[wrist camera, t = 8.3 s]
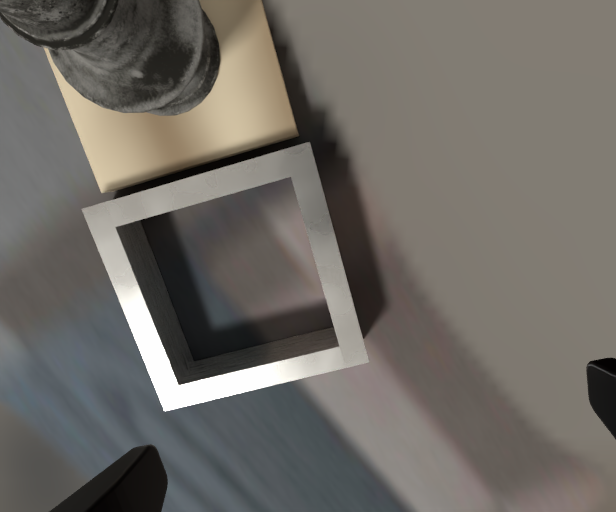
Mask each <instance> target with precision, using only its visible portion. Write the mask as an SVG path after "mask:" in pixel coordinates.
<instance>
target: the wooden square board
mask: <svg viewBox="0 0 616 512" xmlns="http://www.w3.org/2000/svg"><path fill="white" fill-rule="evenodd" d="M199 1H200V4H201V8H202V9H203V10H204V11H205V13H206V15H207V16H208V18H209V20H210V21H211V23H212V25H213V26H214V29H215V32H216V35H217V39H218V42H219V49H220V65H219V71H218V76H217V79H216V81H215V83H214V86H213V88H212V90H211V92H210V93H209V94H208V95H207V97H206V98H205V99H204V100H203V101H202V103H200V104H199V105H197V106H196V107H194V108H193V109H191V110H190V111H188V112H185V113H182V114H179V115H175V116H159V115H155V114H151V113H147V112H145V113H121V112H118V111H114V110H110V109H106V108H102V107H100V106H99V105H97V104H95V103H93V102H91V101H90V100H88V99H86V98H84V97H83V96H82V95H81V94H80V93H78V92H77V91H76V90H75V89H74V88H73V87H72V86H71V85H70V84H69V83H68V82H67V81H66V80H65V79H64V77H63V76H62V74H61V73H60V71H59V70H58V68H57V67H56V65H55V64H54V63H53V60H52V58H51V55H50V53H49V50H48V48H44V49H45V52H46V54H47V57H48V59H49V62H50V64H51V67H52V69H53V72H54V74H55V77H56V79H57V82H58V85H59V87H60V90H61V92H62V95H63V97H64V100H65V102H66V105H67V107H68V110H69V112H70V115H71V117H72V120H73V122H74V125H75V127H76V130H77V132H78V135H79V137H80V140H81V142H82V145H83V147H84V150H85V152H86V155H87V157H88V160H89V163H90V165H91V168H92V170H93V173H94V175H95V178H96V180H97V183H98V185H99V188H100V190H101V193H104V192H112V191H117V190H120V189H123V188H127V187H130V186H133V185H137V184H140V183H144V182H147V181H150V180H154V179H157V178H160V177H164V176H167V175H170V174H174V173H177V172H181V171H184V170H187V169H191V168H194V167H197V166H201V165H204V164H207V163H211V162H214V161H218V160H221V159H224V158H228V157H231V156H234V155H238V154H241V153H244V152H248V151H251V150H254V149H258V148H261V147H265V146H268V145H271V144H275V143H278V142H281V141H285V140H288V139H291V138H295V137H298V136H299V134H298V130H297V126H296V123H295V119H294V115H293V112H292V108H291V104H290V101H289V97H288V93H287V90H286V86H285V83H284V79H283V75H282V72H281V68H280V64H279V61H278V57H277V53H276V50H275V46H274V42H273V39H272V35H271V32H270V28H269V24H268V21H267V17H266V13H265V10H264V6H263V2H262V0H199Z"/></svg>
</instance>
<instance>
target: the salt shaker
mask: <svg viewBox="0 0 616 512" xmlns="http://www.w3.org/2000/svg"><path fill="white" fill-rule="evenodd" d="M0 18H1V19H2V21H3V22H4V23H5V24H6V25H7V26H8V27H9V28H10V29H12V30H13V31H14V32H15V33H16V34H17V35H18V36H20V37H22V38H24V39H25V40H27V41H29V42H31V43H33V44H34V45H37V46H40V47H44V48H48V50H49V53H50V55H51V58H52V60H53V63H54V64H55V65H56V67H57V68H58V70H59V71H60V73H61V74H62V76H63V77H64V79H65V80H66V81H67V82H68V83H69V84H70V85H71V86H72V87H73V88H74V89H75V90H76V91H77V92H78V93H80V94H81V95H82V96H83V97H84V98H86V99H88V100H90V101H91V102H93V103H95V104H97V105H99V106H100V107H102V108H106V109H110V110H114V111H118V112H121V113H145V112H147V113H151V114H155V115H159V116H175V115H179V114H182V113H185V112H188V111H190V110H191V109H193V108H194V107H196V106H197V105H199V104H200V103H202V101H203V100H204V99H205V98H206V97H207V95H208V94H209V93H210V92H211V90H212V88H213V86H214V83H215V81H216V79H217V76H218V71H219V65H220V49H219V42H218V39H217V35H216V32H215V29H214V26H213V25H212V23H211V21H210V20H209V18H208V16H207V15H206V13H205V11H204V10H203V9H202V8H201V4H200V1H199V0H0Z"/></svg>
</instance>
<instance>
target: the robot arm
mask: <svg viewBox="0 0 616 512" xmlns="http://www.w3.org/2000/svg"><path fill="white" fill-rule="evenodd" d="M587 381H588V382H587V383H588V395H589V401H590V404H591V406H592V408H593V410H594V411H595V413H596V414H597V416H598V417H599V418H600V419H601V421H602V422H603V423H604V424H605V426H606V427H607V428H608V430H609V431H610V432H611V434H612V435H613V436H614V438H615V439H616V359H615V358H604V359H599V360H594V361H590V362H589V363H588V364H587ZM167 484H168V479H167V474H166V471H165V469H164V466H163V463H162V461H161V458H160V456H159V453H158V450H157V448H156V447H155V446H154V445H151V444H150V445H144V446H139V447H135V448H133V449H131V450H130V451H129V452H127V453H126V454H125V455H123V456H122V457H121V458H119V459H118V460H117V461H115V462H114V463H113V464H111V465H110V466H109V467H108V468H106V469H105V470H104V471H102V472H101V473H100V474H98V475H97V476H96V477H94V478H93V479H92V480H90V481H89V482H88V483H86V484H85V485H84V486H82V487H81V488H80V489H79V490H77V491H76V492H75V493H73V494H72V495H71V496H69V497H68V498H67V499H65V500H64V501H63V502H61V503H60V504H59V505H58V506H56V507H55V508H53V509H52V510H51V511H50V512H161V510H162V506H163V502H164V498H165V494H166V490H167Z"/></svg>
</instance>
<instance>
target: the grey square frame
mask: <svg viewBox="0 0 616 512" xmlns="http://www.w3.org/2000/svg"><path fill="white" fill-rule="evenodd" d="M287 177H291V178H292V182H293V185H294V189H295V192H296V196H297V199H298V203H299V206H300V210H301V213H302V217H303V220H304V224H305V227H306V231H307V234H308V238H309V241H310V245H311V248H312V252H313V255H314V259H315V262H316V266H317V269H318V273H319V276H320V280H321V283H322V287H323V290H324V294H325V297H326V301H327V304H328V308H329V311H330V315H331V318H332V322H333V325H334V327H330V328H326V329H322V330H318V331H314V332H310V333H306V334H302V335H298V336H294V337H290V338H286V339H282V340H278V341H274V342H270V343H266V344H262V345H258V346H254V347H250V348H246V349H242V350H238V351H234V352H230V353H226V354H222V355H218V356H214V357H210V358H206V359H202V360H198V361H194V360H193V357H192V355H191V352H190V350H189V347H188V344H187V342H186V339H185V336H184V334H183V331H182V329H181V326H180V323H179V321H178V318H177V315H176V313H175V310H174V308H173V305H172V302H171V300H170V297H169V294H168V292H167V289H166V287H165V284H164V281H163V279H162V276H161V273H160V271H159V268H158V266H157V263H156V260H155V258H154V255H153V252H152V250H151V247H150V245H149V242H148V239H147V237H146V234H145V231H144V229H143V226H142V224H141V221H140V220H142V219H145V218H149V217H152V216H156V215H159V214H163V213H166V212H170V211H173V210H176V209H180V208H183V207H187V206H190V205H194V204H197V203H201V202H204V201H208V200H211V199H215V198H218V197H222V196H225V195H228V194H232V193H235V192H239V191H242V190H246V189H249V188H253V187H256V186H260V185H263V184H267V183H270V182H274V181H277V180H281V179H284V178H287ZM82 211H83V214H84V216H85V219H86V221H87V224H88V226H89V228H90V231H91V233H92V236H93V238H94V241H95V243H96V245H97V248H98V250H99V253H100V255H101V257H102V260H103V262H104V265H105V267H106V270H107V272H108V274H109V277H110V279H111V282H112V284H113V287H114V289H115V291H116V294H117V296H118V299H119V301H120V304H121V306H122V308H123V311H124V313H125V316H126V318H127V320H128V323H129V325H130V328H131V330H132V333H133V335H134V337H135V340H136V342H137V345H138V347H139V350H140V352H141V354H142V357H143V359H144V362H145V364H146V366H147V369H148V371H149V374H150V376H151V379H152V381H153V383H154V386H155V388H156V391H157V393H158V396H159V398H160V400H161V403H162V405H163V408H164V410H165V411H167V410H171V409H175V408H179V407H183V406H188V405H192V404H196V403H200V402H205V401H209V400H213V399H217V398H221V397H226V396H230V395H234V394H238V393H242V392H247V391H251V390H255V389H259V388H263V387H268V386H272V385H276V384H280V383H284V382H289V381H293V380H297V379H301V378H305V377H310V376H314V375H318V374H322V373H327V372H331V371H335V370H339V369H343V368H348V367H352V366H356V365H360V364H364V363H369V360H368V356H367V352H366V348H365V344H364V340H363V336H362V332H361V329H360V325H359V321H358V318H357V314H356V310H355V306H354V303H353V299H352V295H351V292H350V288H349V284H348V280H347V277H346V273H345V269H344V266H343V262H342V258H341V254H340V251H339V247H338V243H337V240H336V236H335V232H334V228H333V225H332V221H331V217H330V214H329V210H328V206H327V202H326V199H325V195H324V191H323V188H322V184H321V180H320V176H319V173H318V169H317V165H316V162H315V158H314V154H313V150H312V147H311V144H310V142H307V143H304V144H300V145H297V146H293V147H290V148H287V149H283V150H280V151H276V152H273V153H270V154H266V155H263V156H260V157H256V158H253V159H249V160H246V161H243V162H239V163H236V164H232V165H229V166H226V167H222V168H219V169H216V170H212V171H209V172H205V173H202V174H199V175H195V176H192V177H188V178H185V179H182V180H178V181H175V182H172V183H168V184H165V185H161V186H158V187H155V188H151V189H148V190H144V191H141V192H138V193H134V194H131V195H128V196H124V197H121V198H117V199H114V200H111V201H107V202H104V203H100V204H97V205H94V206H90V207H87V208H84V209H82Z"/></svg>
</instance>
